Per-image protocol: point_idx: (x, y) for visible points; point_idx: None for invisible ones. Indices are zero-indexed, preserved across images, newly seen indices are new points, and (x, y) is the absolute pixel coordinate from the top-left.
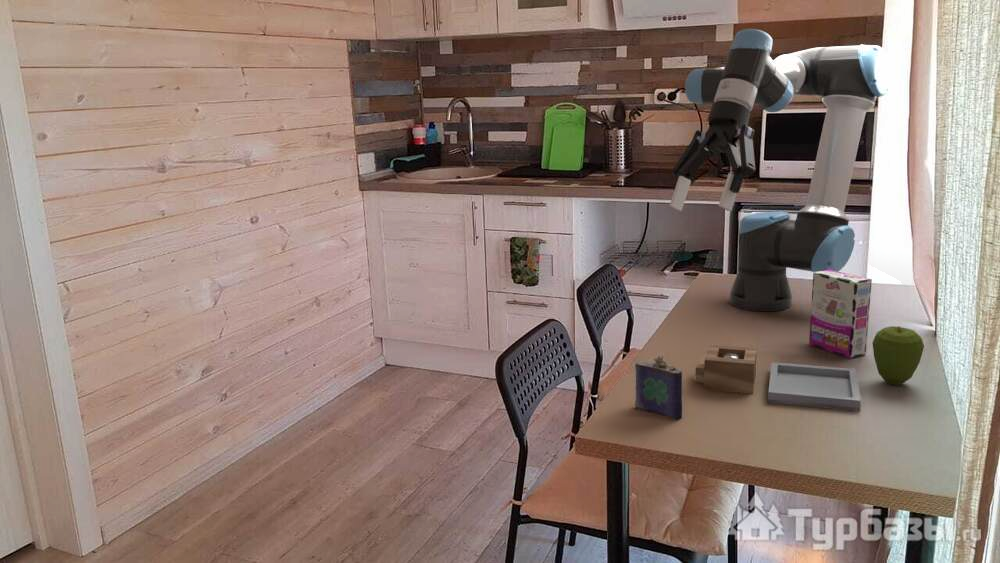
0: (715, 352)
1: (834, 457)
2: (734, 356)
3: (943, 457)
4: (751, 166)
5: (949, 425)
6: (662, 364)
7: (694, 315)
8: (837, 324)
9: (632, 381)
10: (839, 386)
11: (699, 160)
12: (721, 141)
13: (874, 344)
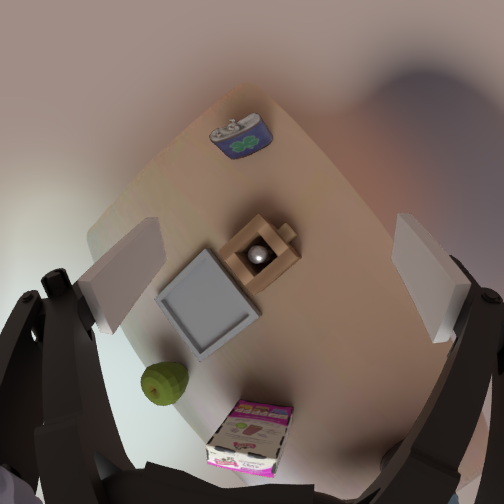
0: (269, 241)
1: (129, 216)
2: (253, 256)
3: None
4: (40, 344)
5: (121, 324)
6: (227, 126)
7: None
8: (248, 418)
9: (328, 168)
10: (193, 326)
11: (421, 417)
12: (84, 483)
13: (168, 370)
